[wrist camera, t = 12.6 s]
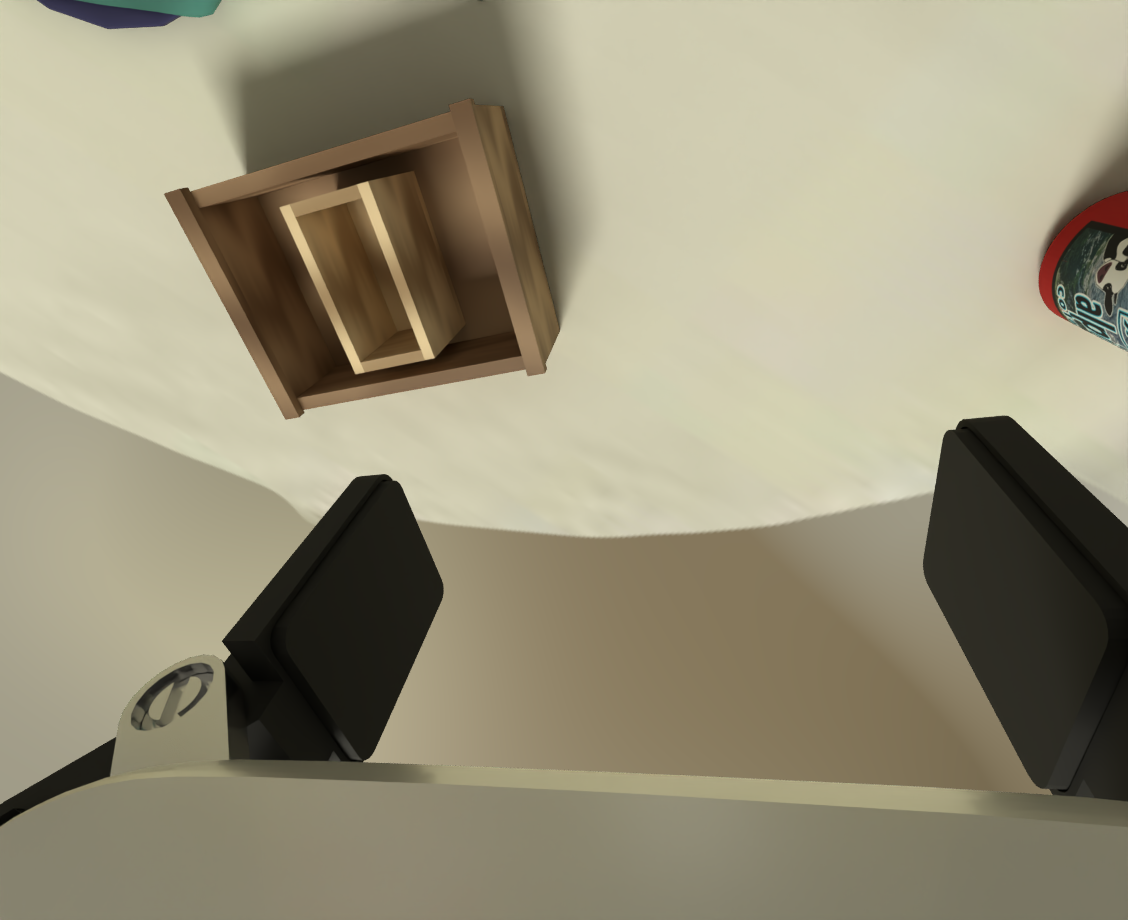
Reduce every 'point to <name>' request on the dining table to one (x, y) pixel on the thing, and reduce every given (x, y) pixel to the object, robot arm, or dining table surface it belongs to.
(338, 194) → the oak crate
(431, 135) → the walnut crate
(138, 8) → the cutlery set
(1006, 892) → the robot arm
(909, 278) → the dining table surface
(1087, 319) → the beverage can
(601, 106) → the dining table surface
